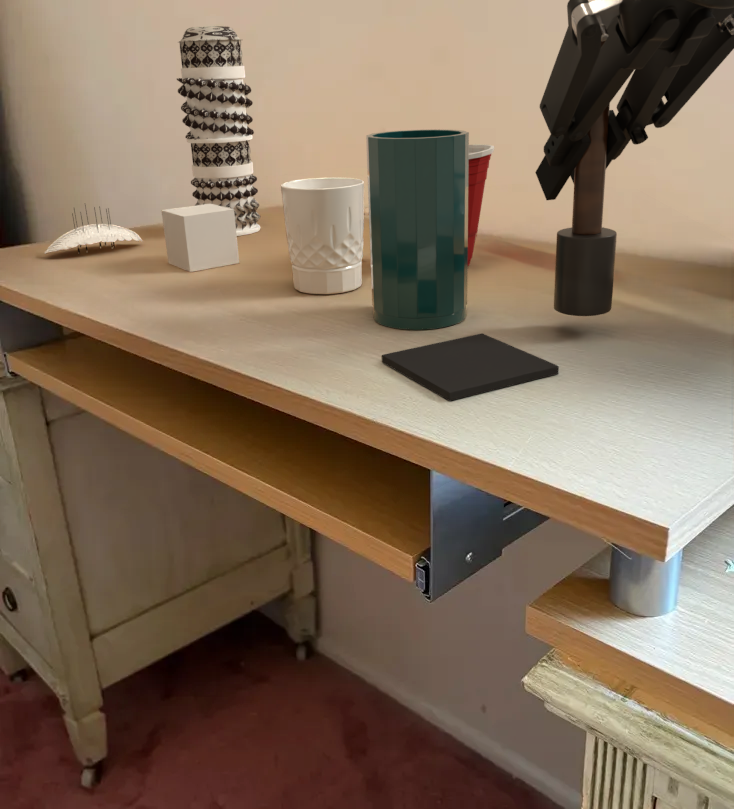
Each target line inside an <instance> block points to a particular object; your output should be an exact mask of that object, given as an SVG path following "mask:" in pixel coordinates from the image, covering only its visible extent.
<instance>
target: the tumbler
mask: <svg viewBox="0 0 734 809" xmlns="http://www.w3.org/2000/svg"><path fill="white" fill-rule="evenodd" d="M365 140H366V169H367V196H368V197H367V198H368V224H369V225H368V226H369V228H368V229H369V252H370V253H369V255H370V278H371V280H370V281H371V305H372V318H373V320H374V321H375V322H376V323H378V324H379V325H382V326H384V327H387V328H392V329H399V330H408V331H410V330H411V331H421V330H422V331H424V330H435V329H437V330H438V329H442V328H447V327H451V326H454V325H457V324H459V323H462V322H463V321H465V319H466V318H467V305H468V271H469V270H468V269H469V268H468V267H469V266H468V168H469V145H470V132H469V131H466V130H459V129H440V128H439V129H438V128H437V129H436V128H435V129H407V130H391V131H380V132H374V133H369V134H367V135H366V136H365Z"/></svg>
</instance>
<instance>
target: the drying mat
mask: <svg viewBox="0 0 734 809" xmlns="http://www.w3.org/2000/svg"><path fill="white" fill-rule="evenodd" d="M381 362H382V363H383V364H384V365H386V366H388V367H390V368H391V369H393V370H395V371H396V372H398V373H400V374H402V375H403V376H405V377H407V378H409V379H411V380H413V381H414V382H415V383H417V384H419V385H421V386H423V387H424V388H426V389H428V390H429V391H432V392H433V393H435V394H436V395H438V396H440V397H442V398H444V399H445V400H447V401H449V402H452V401H455V400H461V399H463V398H468V397H471V396H476V395H479V394H483V393H487V392H491V391H494V390H499V389H503V388H508V387H511V386H516V385H519V384H524V383H527V382H531V381H535V380H539V379H543V378H546V377H550V376H555V375H558V374H559V370H560V369H559V365H557V364H555V363H553V362H550V361H548V360H546V359H543V358H541V357H539V356H536V355H534V354H532V353H529V352H528V351H526V350H523V349H520V348H518V347H516V346H514V345H511V344H509V343H506V342H504V341H501V340H499V339H497V338H494V337H492V336H489V335H488V334H485V333H477V334H472V335H467V336H463V337H459V338H453V339H449V340H444V341H440V342H435V343H431V344H426V345H422V346H417V347H412V348H408V349H402V350H398V351H393V352H389V353H383V354H381Z"/></svg>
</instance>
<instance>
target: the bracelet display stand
mask: <svg viewBox="0 0 734 809" xmlns="http://www.w3.org/2000/svg"><path fill="white" fill-rule="evenodd" d="M178 43H179V52H180V60H181V68H180V74H181V77H178V78H176V81H177V82H179V83H181V86H180V87H179V88H178V89H177V93H178V94H179V95H180V96H182V97H183V98H186V100H185V101H184V102H183V103H182V105H181V106H180V110H181V111H182V112H183V113H184V114H186V115H185V116H184V117H183V118H182V121H181V122H182V123H183V124H184V125H185V126H186V127H187V128H189V131H188V132H187V133H186V135H185V139H186V142H187V143H188V144H190V149H191V159H192V164H191V170H192V177H194V178H193V179H191V180H190V184H191V185H192V186H193V187H195V188H196V189H195V190H194V191H193V192H192V194H191V196H192V197H193V198H195V199H196V200H197V201H196V203H195V204H194V206H196V205H203V204H214V205H218V206H222V207H226V208H231V209H234V213H235V224H236V234H237V237H240V236H246V235H251V234H255V233H258V232H259V231H260V230H261V225H260V224H258V222H259V220H260V219H261V215H260V213H258V209H259V208H260V203H259V201H257V199H256V198H255V195H257V194H258V192H259V190H258V188H256V187H255V186H254V184H255V183H256V182H257V181H258V177H257V176H256V175H254V163H253V161H252V159H251V147H250V141H251V140H253V139H254V138H253V137H254V136H253V135H254V134H255V131H254V130H253V128H251V127H249V124H251V123H252V122H253V120H254V119H253V117H252V116H251V115H249V114H248V113H247V109H249V108H250V107H251V106H252V105H253V103H254V102H253V101H252V100H251V99H250V98H248V95H249V94H251V93H252V88H251V87H250V85H248V84H247V83H246V82H245V83H244V79H245V78H246V67H245V65H244V64H243V60H242V58H243V51H242V48H241V47H242V39H241V38H240V37H239V36H238V34H237V32H236V31H235V30H234V28H233V27H230V26H226V25H225V26H224V25H221V26H219V25H216V26H215V25H214V26H194V27H193V26H192V27H189V28H187V29H185V31H184V32H183V35H182V37H181V39H180V41H178Z"/></svg>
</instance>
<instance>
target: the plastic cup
mask: <svg viewBox="0 0 734 809" xmlns="http://www.w3.org/2000/svg"><path fill="white" fill-rule="evenodd" d="M494 151H495V145H492V144H469V168H468V267H470V265H471V262H472V261H471V260H472V258H473V255H474V250H475V249H474V248H475V244H476V236H477V233H478V232H479V231H478V230H479V224H480V218H481V211H482V205H483V204H482V203H483V200H484V199H483V198H484V192H485V187H486V186H485V185H486V180H487V177H488V169H489V168H490V160H491V157H492V155H493V153H494Z"/></svg>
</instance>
